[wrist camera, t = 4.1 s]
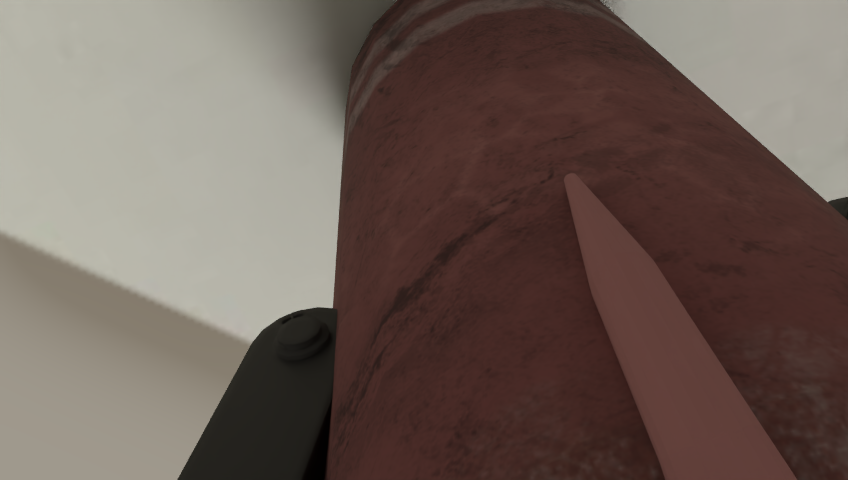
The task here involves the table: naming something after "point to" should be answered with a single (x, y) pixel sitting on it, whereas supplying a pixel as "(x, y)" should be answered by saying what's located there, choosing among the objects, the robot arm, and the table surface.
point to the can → (573, 264)
